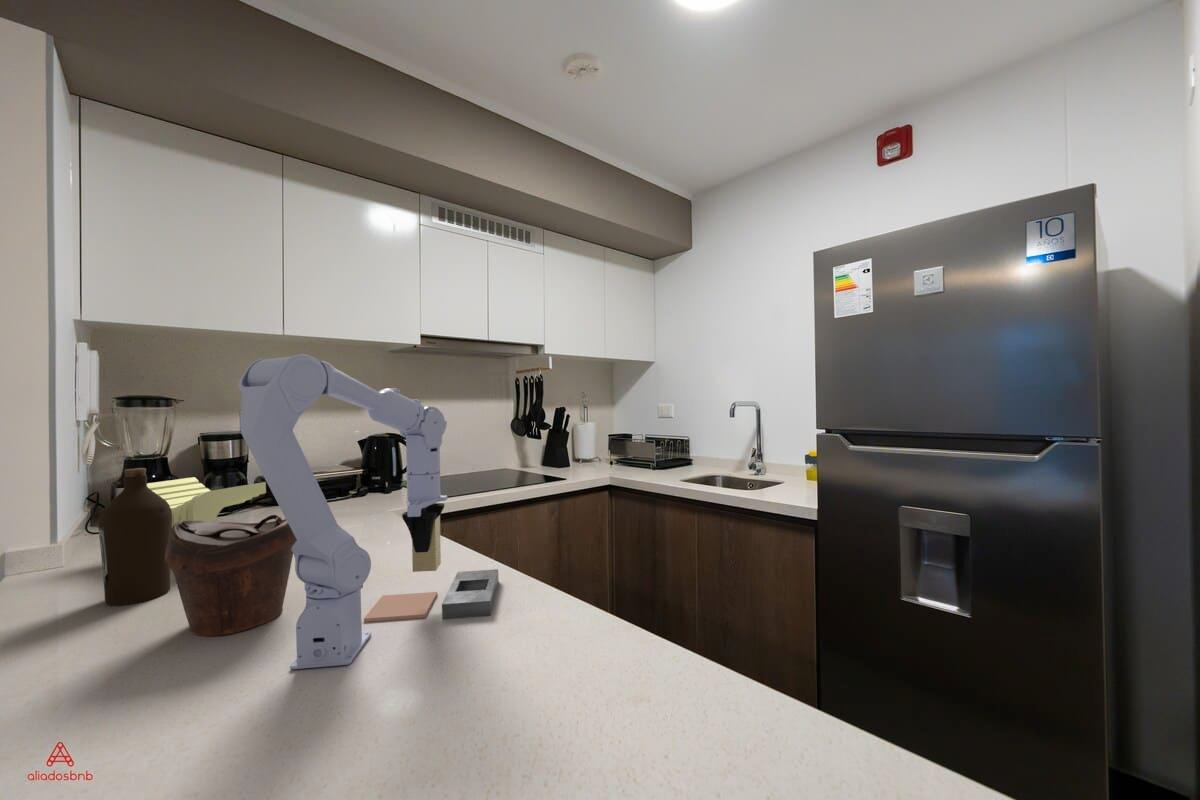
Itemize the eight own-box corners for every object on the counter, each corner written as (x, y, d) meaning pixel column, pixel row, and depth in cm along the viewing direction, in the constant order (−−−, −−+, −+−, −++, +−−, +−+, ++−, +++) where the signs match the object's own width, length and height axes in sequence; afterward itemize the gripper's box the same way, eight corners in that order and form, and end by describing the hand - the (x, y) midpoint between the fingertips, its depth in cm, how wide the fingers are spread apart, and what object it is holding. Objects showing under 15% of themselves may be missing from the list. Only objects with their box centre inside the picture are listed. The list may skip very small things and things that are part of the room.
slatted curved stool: (122, 559, 123) (120, 487, 123) (196, 541, 137) (194, 477, 137) (194, 574, 111) (192, 493, 111) (267, 553, 125) (265, 481, 125)
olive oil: (178, 582, 106) (175, 463, 106) (168, 599, 97) (164, 469, 96) (110, 593, 100) (106, 468, 100) (91, 612, 91) (88, 474, 91)
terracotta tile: (425, 617, 85) (425, 614, 85) (363, 622, 84) (363, 618, 84) (437, 595, 95) (437, 591, 95) (382, 598, 94) (382, 595, 94)
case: (327, 608, 90) (323, 508, 90) (190, 659, 73) (184, 536, 73) (279, 591, 100) (275, 501, 100) (148, 632, 83) (144, 524, 83)
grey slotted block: (490, 615, 86) (490, 600, 86) (442, 618, 85) (441, 604, 85) (498, 581, 101) (498, 569, 101) (458, 584, 101) (457, 571, 101)
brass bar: (435, 570, 89) (435, 519, 89) (412, 571, 88) (411, 520, 89) (440, 563, 93) (439, 514, 93) (418, 564, 92) (417, 515, 92)
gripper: (437, 478, 84) (439, 559, 84) (453, 466, 98) (455, 536, 98) (393, 479, 83) (395, 561, 83) (416, 468, 98) (417, 538, 98)
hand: (425, 548), depth 91 cm, fingers closed on brass bar, 4 cm apart
